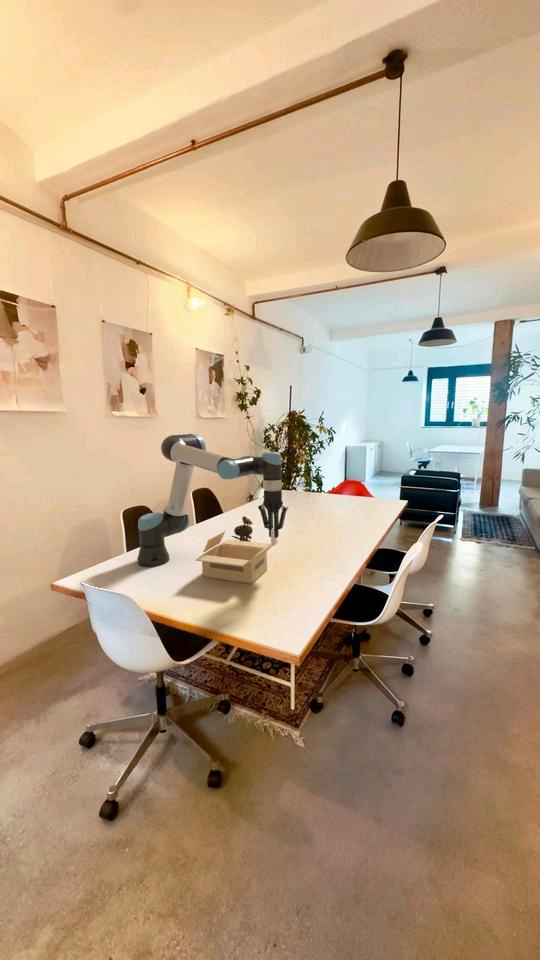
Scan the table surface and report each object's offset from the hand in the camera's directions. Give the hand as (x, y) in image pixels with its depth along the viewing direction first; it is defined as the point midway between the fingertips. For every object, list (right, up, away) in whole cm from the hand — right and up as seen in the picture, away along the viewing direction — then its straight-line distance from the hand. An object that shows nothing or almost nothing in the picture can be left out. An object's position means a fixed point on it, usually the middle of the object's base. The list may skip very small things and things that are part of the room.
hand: (274, 544), depth 160 cm
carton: (-17, -15, +9) cm, 24 cm away
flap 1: (-28, -4, +12) cm, 31 cm away
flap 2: (-7, -4, +3) cm, 9 cm away
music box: (-15, -11, +35) cm, 40 cm away
